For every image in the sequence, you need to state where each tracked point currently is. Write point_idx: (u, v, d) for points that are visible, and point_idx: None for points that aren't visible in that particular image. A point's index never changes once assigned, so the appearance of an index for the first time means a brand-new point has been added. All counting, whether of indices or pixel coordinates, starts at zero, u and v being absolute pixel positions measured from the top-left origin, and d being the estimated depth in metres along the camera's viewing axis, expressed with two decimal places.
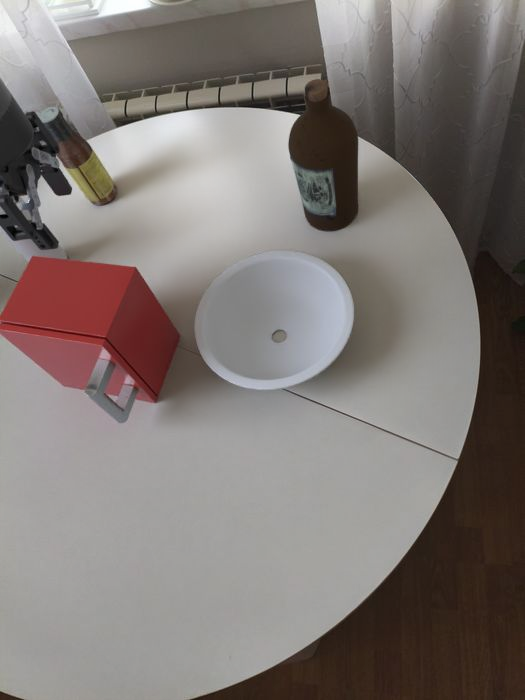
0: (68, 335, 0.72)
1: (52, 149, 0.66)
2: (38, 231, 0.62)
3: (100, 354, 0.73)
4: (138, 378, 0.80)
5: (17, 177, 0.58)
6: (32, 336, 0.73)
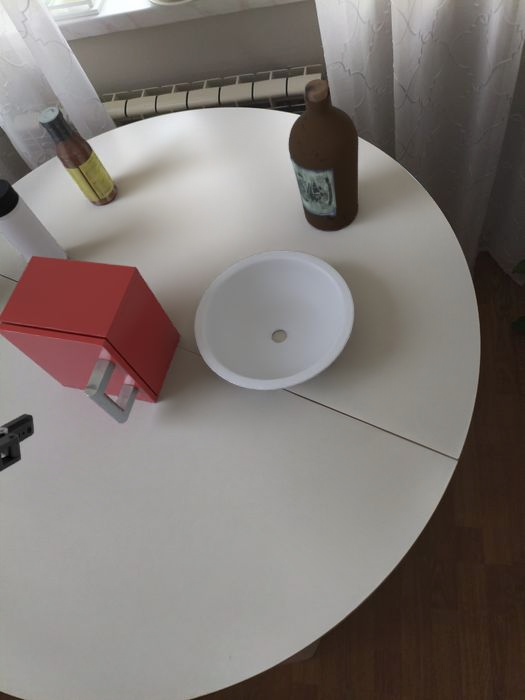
0: (68, 335, 0.72)
1: None
2: None
3: (100, 354, 0.73)
4: (138, 378, 0.80)
5: None
6: (32, 336, 0.73)
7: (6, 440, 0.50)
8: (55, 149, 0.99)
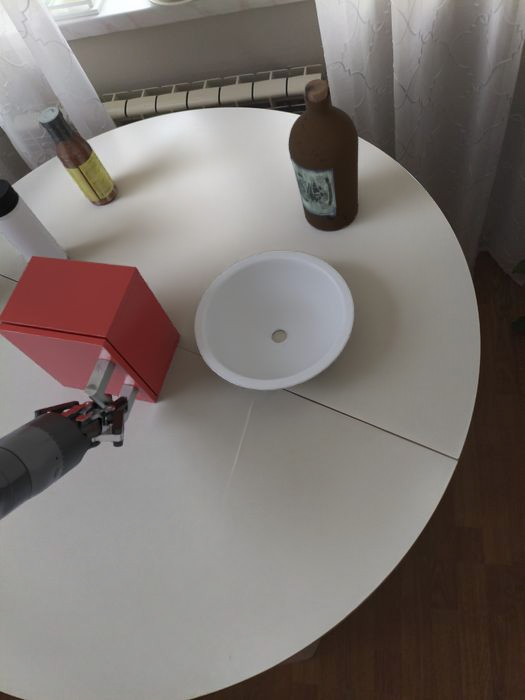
0: (68, 335, 0.72)
1: None
2: None
3: (100, 354, 0.73)
4: (138, 378, 0.80)
5: None
6: (32, 336, 0.73)
7: (120, 414, 0.72)
8: (55, 149, 0.99)
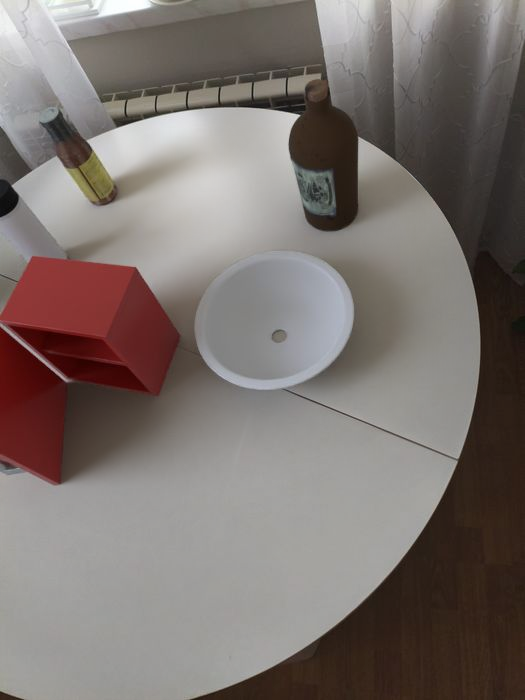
0: None
1: None
2: None
3: None
4: (30, 470, 0.76)
5: None
6: None
7: None
8: (55, 149, 0.99)
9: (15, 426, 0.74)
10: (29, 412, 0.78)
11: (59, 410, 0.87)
